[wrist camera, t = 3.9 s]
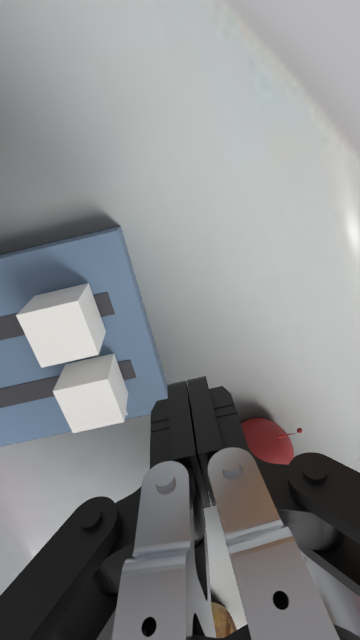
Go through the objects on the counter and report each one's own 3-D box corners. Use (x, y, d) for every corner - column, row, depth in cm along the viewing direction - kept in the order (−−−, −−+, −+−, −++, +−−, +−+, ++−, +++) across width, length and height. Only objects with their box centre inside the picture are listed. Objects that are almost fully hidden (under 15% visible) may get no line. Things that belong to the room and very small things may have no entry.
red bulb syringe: (279, 417, 36) (332, 439, 28) (264, 469, 35) (313, 507, 27) (230, 400, 34) (271, 418, 26) (213, 454, 33) (250, 489, 26)
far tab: (114, 353, 26) (107, 378, 23) (128, 393, 28) (124, 421, 24) (65, 364, 26) (52, 391, 23) (82, 403, 28) (72, 433, 25)
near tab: (88, 282, 23) (77, 300, 20) (106, 331, 25) (98, 354, 22) (34, 295, 23) (15, 315, 20) (55, 342, 25) (41, 367, 22)
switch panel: (120, 226, 24) (117, 230, 22) (170, 395, 31) (170, 410, 29) (-134, 287, 25) (-158, 296, 23) (-31, 439, 32) (-43, 456, 30)
